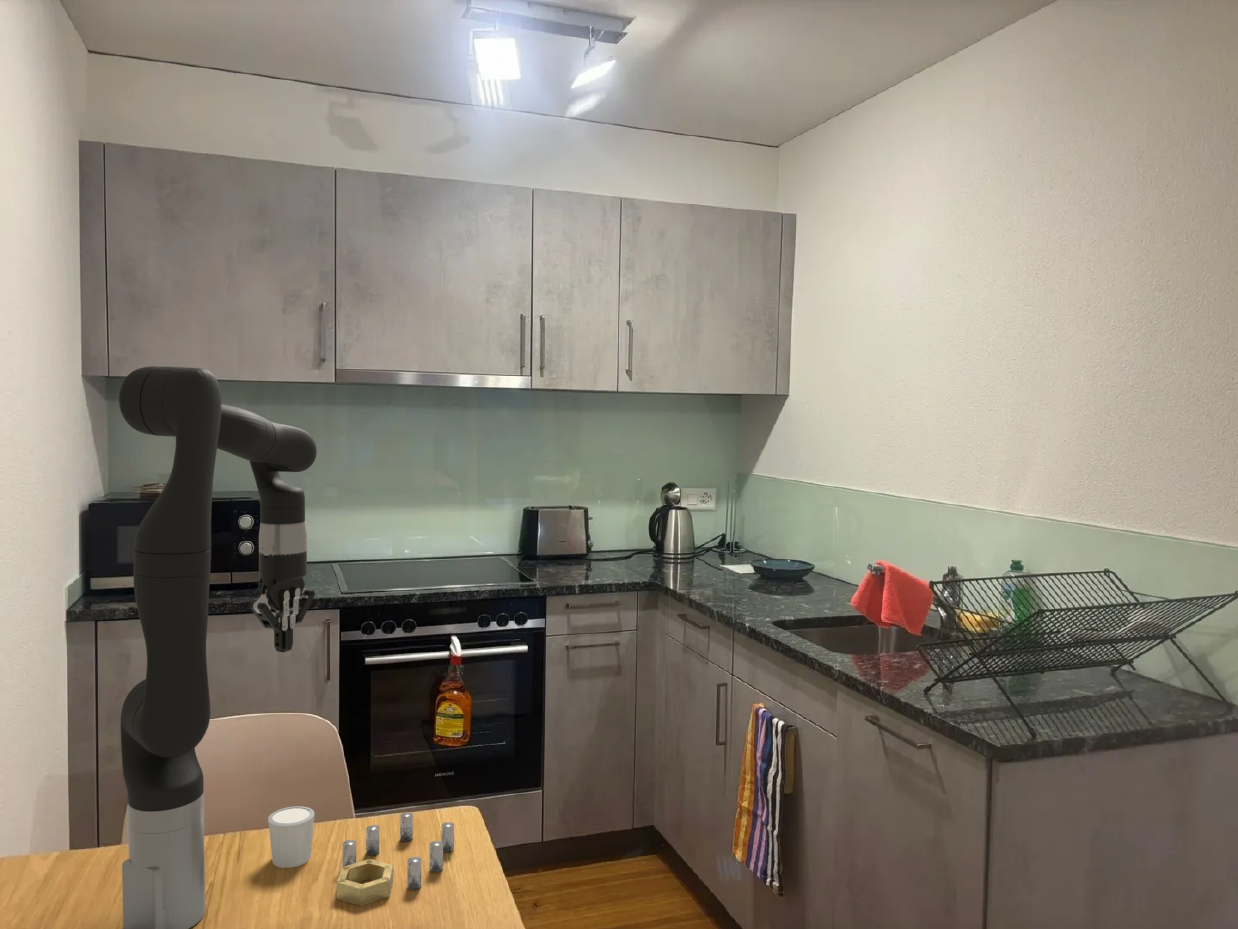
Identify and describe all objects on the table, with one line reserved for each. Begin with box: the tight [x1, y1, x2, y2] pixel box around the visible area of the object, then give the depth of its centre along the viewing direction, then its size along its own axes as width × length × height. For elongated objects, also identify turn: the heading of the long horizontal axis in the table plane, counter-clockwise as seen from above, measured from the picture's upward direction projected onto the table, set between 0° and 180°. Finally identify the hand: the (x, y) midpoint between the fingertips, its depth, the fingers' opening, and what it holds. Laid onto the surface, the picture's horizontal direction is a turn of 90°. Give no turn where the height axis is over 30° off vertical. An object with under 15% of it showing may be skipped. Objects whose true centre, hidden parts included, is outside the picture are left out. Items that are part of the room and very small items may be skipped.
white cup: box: [267, 805, 316, 869], centre depth 142 cm, size 7×7×7 cm
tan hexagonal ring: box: [336, 858, 394, 907], centre depth 133 cm, size 7×9×2 cm
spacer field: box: [342, 811, 455, 891], centre depth 142 cm, size 14×14×4 cm
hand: (283, 650), depth 154 cm, fingers closed
